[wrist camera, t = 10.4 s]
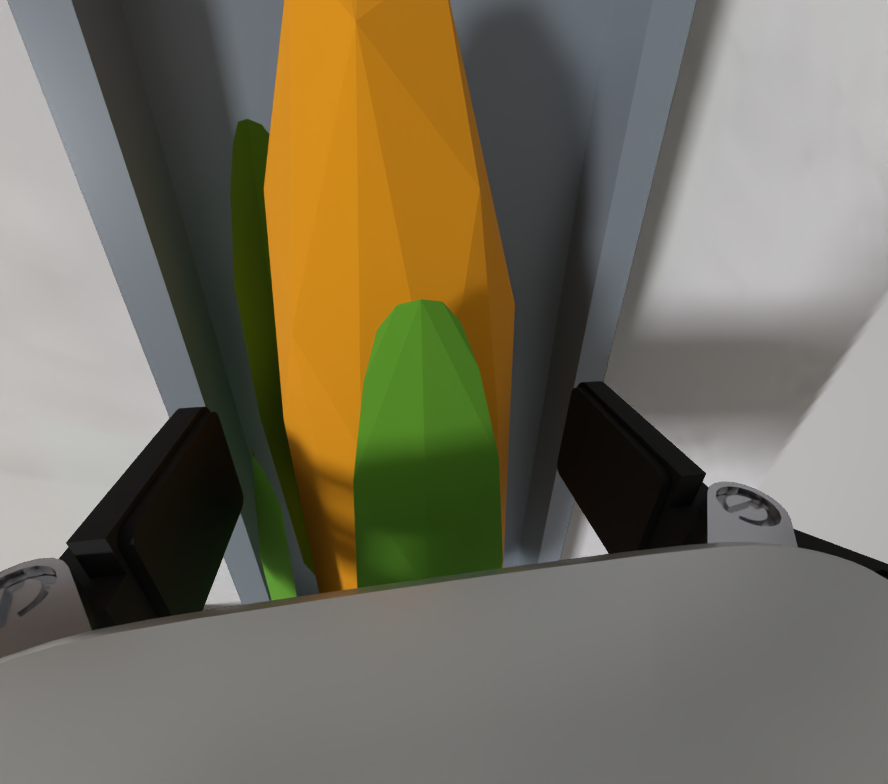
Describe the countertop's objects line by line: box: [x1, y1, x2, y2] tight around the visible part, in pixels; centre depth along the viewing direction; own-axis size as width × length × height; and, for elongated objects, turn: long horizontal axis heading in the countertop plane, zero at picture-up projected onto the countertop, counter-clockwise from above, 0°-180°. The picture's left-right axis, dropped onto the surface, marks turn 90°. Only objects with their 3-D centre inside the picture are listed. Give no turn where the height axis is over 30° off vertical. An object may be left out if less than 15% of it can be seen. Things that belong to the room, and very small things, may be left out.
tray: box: [7, 0, 696, 605], centre depth 13 cm, size 25×13×2 cm, turn 179°
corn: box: [230, 0, 515, 600], centre depth 10 cm, size 7×8×20 cm
